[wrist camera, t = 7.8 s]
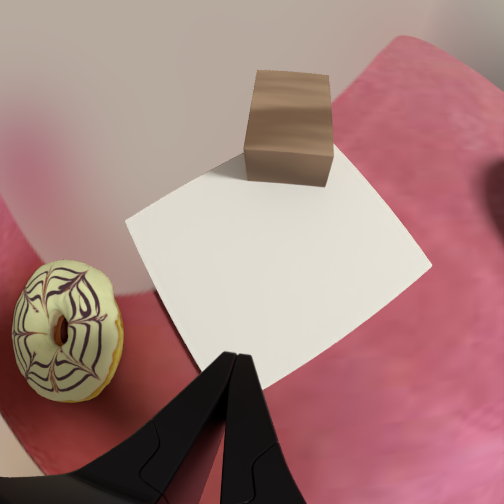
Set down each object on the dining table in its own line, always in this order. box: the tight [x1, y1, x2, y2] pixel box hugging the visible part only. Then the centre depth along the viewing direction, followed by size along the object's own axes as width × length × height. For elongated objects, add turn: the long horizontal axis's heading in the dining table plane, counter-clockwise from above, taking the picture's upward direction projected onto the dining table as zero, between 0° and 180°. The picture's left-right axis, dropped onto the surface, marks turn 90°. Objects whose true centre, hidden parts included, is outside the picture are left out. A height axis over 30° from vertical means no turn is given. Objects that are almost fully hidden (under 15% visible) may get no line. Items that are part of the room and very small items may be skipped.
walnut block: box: [244, 70, 334, 187], centre depth 23 cm, size 4×6×9 cm
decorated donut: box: [12, 260, 124, 403], centre depth 19 cm, size 10×11×4 cm
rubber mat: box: [125, 144, 432, 390], centre depth 22 cm, size 16×18×1 cm
